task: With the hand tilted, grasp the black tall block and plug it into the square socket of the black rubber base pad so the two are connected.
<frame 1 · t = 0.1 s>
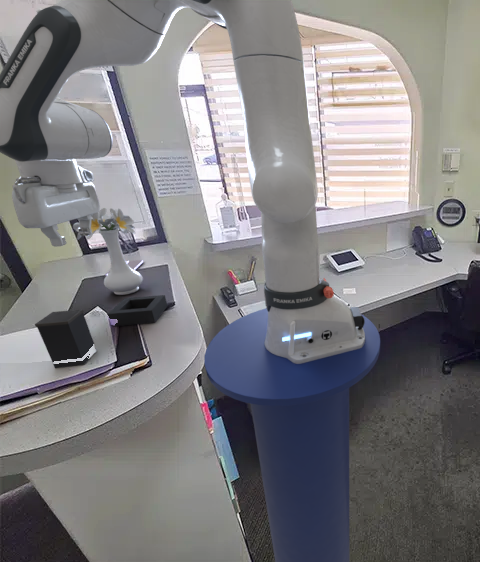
hand: (74, 240, 69), 21 cm above the table, tool pointing down, fingers open, 8 cm apart
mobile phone: (125, 269, 111), on the table
black tall block: (77, 359, 63), on the table
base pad: (141, 315, 81), on the table
flower vase: (125, 291, 95), on the table
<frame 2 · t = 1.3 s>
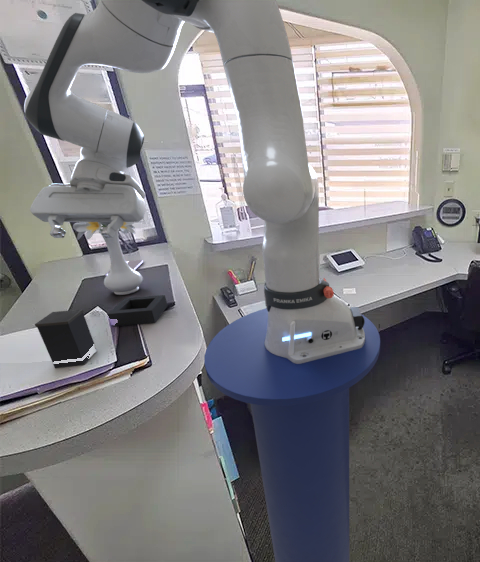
hand: (82, 236, 66), 23 cm above the table, tool tilted 45°, fingers open, 8 cm apart
nothing on the table moved.
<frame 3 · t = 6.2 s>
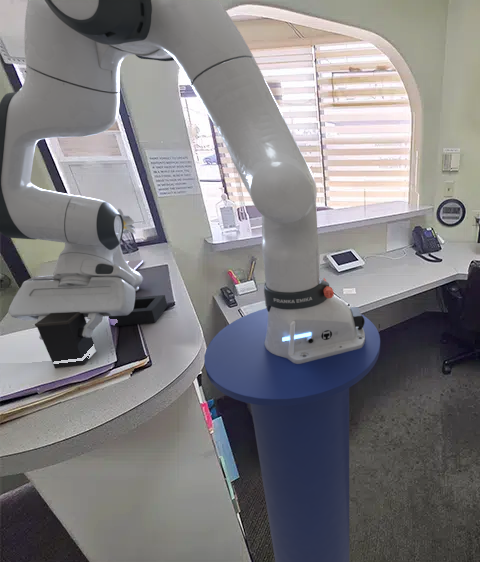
hand: (65, 338, 61), 5 cm above the table, tool tilted 45°, fingers closed on black tall block, 5 cm apart
black tall block: (76, 359, 63), on the table, touching gripper
everything else where it was.
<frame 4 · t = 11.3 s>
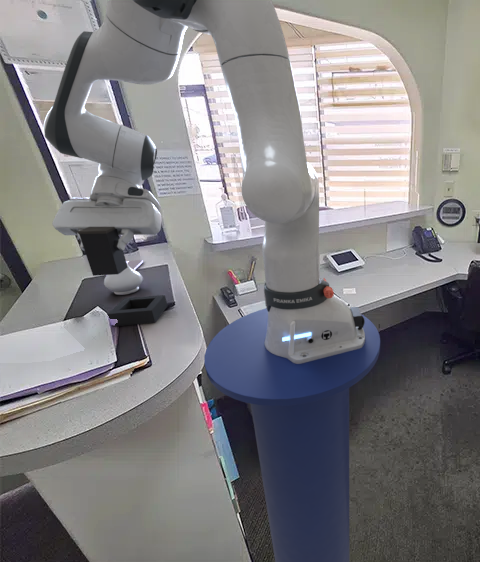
hand: (102, 249, 68), 19 cm above the table, tool tilted 45°, fingers closed on black tall block, 5 cm apart
black tall block: (111, 271, 71), point 14 cm above the table, touching gripper
everything else where it was.
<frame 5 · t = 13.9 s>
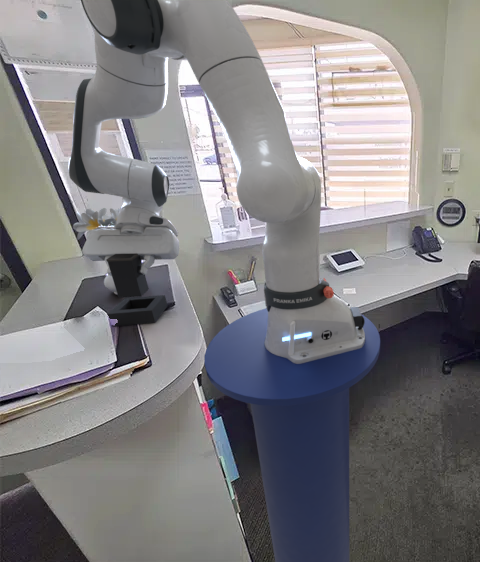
hand: (127, 274, 76), 12 cm above the table, tool tilted 45°, fingers closed on black tall block, 5 cm apart
black tall block: (134, 293, 78), point 6 cm above the table, touching gripper
everything else where it was.
when the fingers open (5 cm above the table, at t = 16.2 s): black tall block stays where it is, resting in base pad.
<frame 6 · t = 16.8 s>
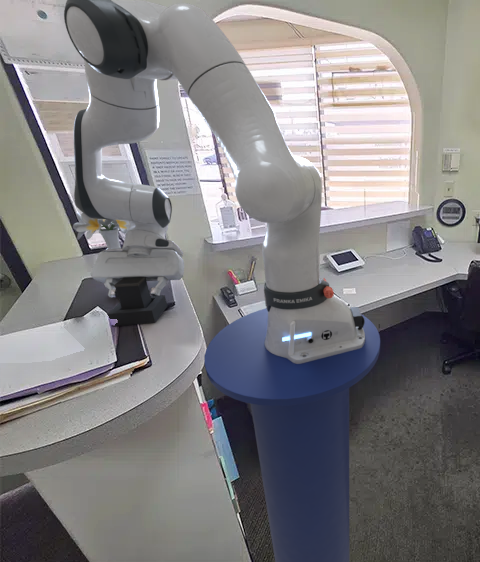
hand: (134, 296, 78), 6 cm above the table, tool tilted 45°, fingers open, 8 cm apart
black tall block: (140, 315, 81), resting in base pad
everything else where it was.
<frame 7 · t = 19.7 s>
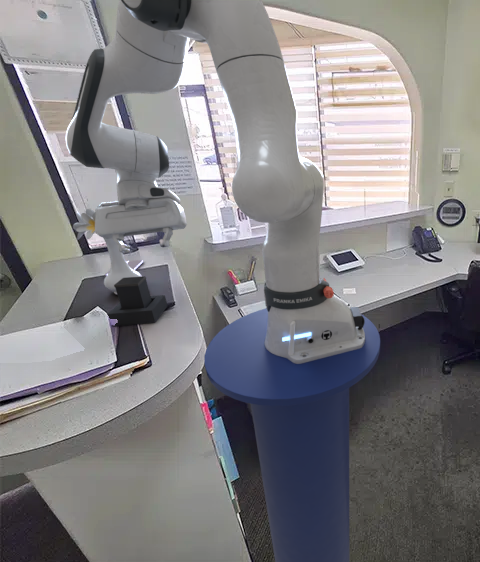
hand: (145, 249, 79), 17 cm above the table, tool tilted 30°, fingers open, 8 cm apart
nothing on the table moved.
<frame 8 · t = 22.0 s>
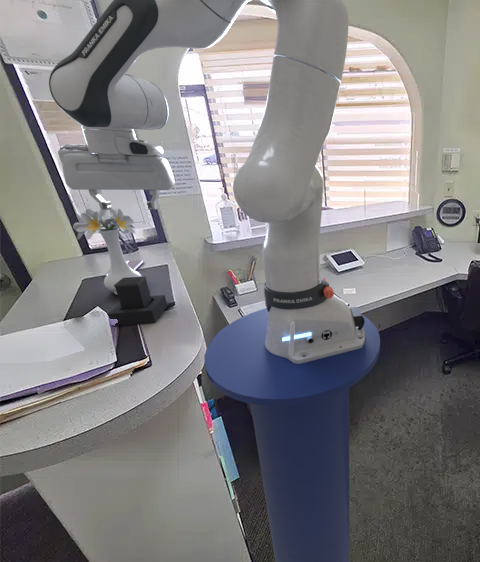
hand: (130, 209, 73), 27 cm above the table, tool pointing down, fingers open, 8 cm apart
nothing on the table moved.
at the end: black tall block 0.1 cm off-centre in the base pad, point 0.0 cm above the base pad's base; black tall block tilted 0°; the gripper is holding nothing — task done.
